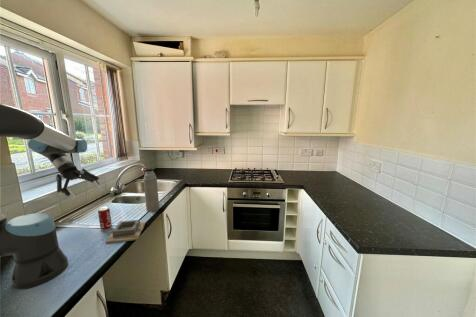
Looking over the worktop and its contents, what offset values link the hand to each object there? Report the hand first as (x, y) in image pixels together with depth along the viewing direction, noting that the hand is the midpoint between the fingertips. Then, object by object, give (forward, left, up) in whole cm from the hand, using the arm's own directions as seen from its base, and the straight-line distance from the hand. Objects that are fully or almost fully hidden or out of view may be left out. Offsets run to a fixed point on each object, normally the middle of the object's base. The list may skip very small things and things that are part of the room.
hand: (88, 194), depth 105 cm
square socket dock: (-13, -22, -18) cm, 32 cm away
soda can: (-6, -9, -19) cm, 22 cm away
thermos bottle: (+14, -29, -19) cm, 37 cm away
